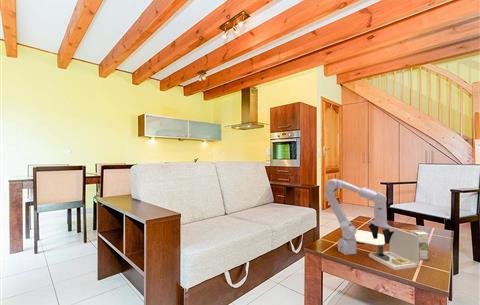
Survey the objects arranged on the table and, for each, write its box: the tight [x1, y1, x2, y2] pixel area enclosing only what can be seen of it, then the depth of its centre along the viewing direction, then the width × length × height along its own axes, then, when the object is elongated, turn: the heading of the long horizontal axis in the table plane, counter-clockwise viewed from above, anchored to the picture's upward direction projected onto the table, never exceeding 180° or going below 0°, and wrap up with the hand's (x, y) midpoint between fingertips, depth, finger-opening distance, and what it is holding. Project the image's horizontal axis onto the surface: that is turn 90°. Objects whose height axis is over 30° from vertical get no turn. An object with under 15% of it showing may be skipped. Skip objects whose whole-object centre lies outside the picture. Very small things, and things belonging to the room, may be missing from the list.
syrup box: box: [410, 230, 429, 261], centre depth 127 cm, size 6×6×14 cm
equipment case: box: [368, 227, 420, 271], centre depth 120 cm, size 15×16×16 cm
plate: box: [341, 229, 386, 246], centre depth 157 cm, size 25×25×2 cm
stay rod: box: [377, 245, 384, 257], centre depth 123 cm, size 2×2×7 cm
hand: (381, 240), depth 124 cm, fingers open, 7 cm apart
